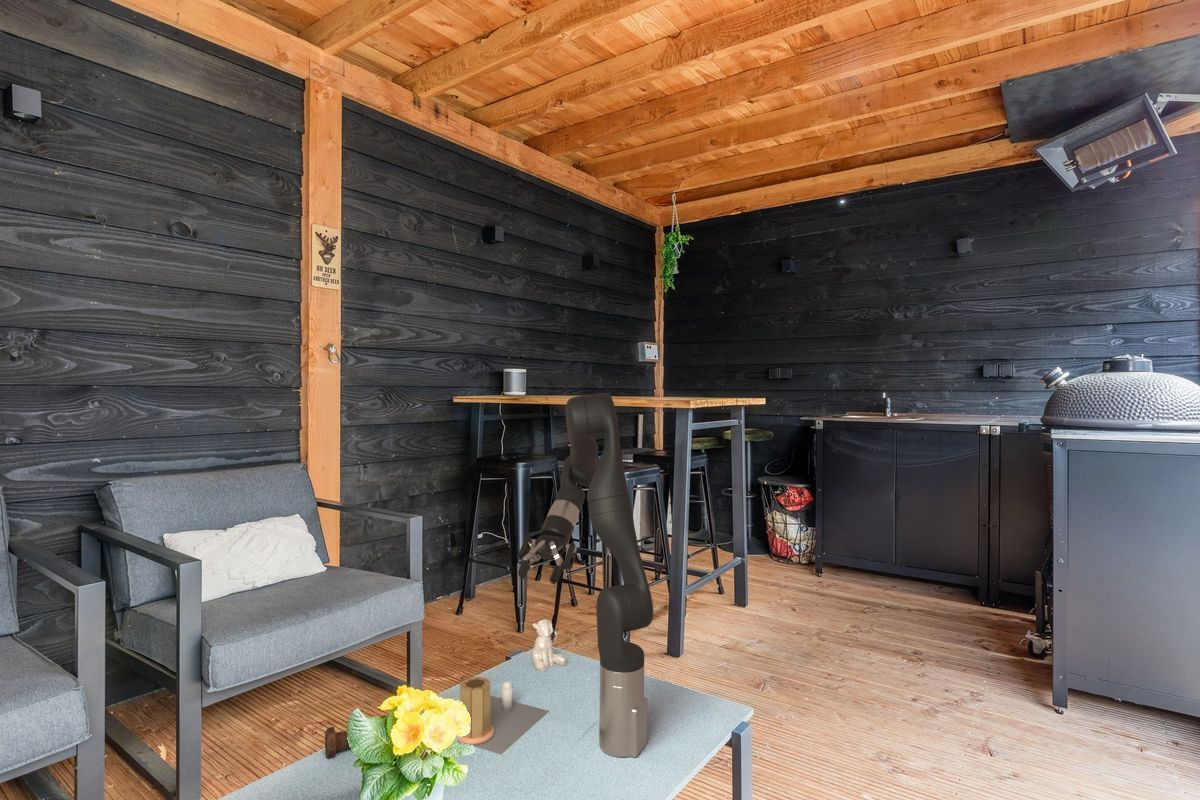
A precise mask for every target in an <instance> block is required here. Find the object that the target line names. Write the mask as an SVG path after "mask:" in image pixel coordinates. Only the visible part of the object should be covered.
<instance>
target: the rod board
mask: <svg viewBox="0 0 1200 800" xmlns="http://www.w3.org/2000/svg"><path fill="white" fill-rule="evenodd" d="M549 712H550V710H547V709H544V708H539V707H535V706H534V705H533V706H532V705H528V704H524V703H521V702H517V701H513V683H512V682H511V681H508V680H507V681H504V682H503V683H502V685H501V698H500V697H499V696H498V697H497V696H494V695H490V732H489V733H488V734H487V735H485V736H484V737H482V738H476V739H472V738H471V739H468V738H465V737H459V738H458V739H457V740H458V741H457V742H458V743H459V742H461V743H464V744H472V745H474V746H473V747H476V748H479V749H482V750H485V751H488V752H490V753H491V752H492V753H494V754H498V755H503V754H504V753H505V752H506V751H507V750H508V749H509V748H510V747H512V746H513V744H515V743H516V742H517V741H518V740H519V739H520V738H521V737H522V736H524V735H525V734H526V733H527V732H528V731H529V730H530V729H532V728H533V727H534V726H535V725H536V724H537V723H538V722H540V721H541V720H542V718H544V717H545V716H546V715H547V714H548V713H549ZM461 743H460V744H461ZM464 744H463V745H464Z"/></svg>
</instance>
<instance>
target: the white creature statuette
mask: <svg viewBox="0 0 1200 800" xmlns="http://www.w3.org/2000/svg"><path fill="white" fill-rule="evenodd" d="M532 627H533V628H534V629H536V634H537V637H536V639H535V642H534V646H533V648H532V651H531V653H530V654H531V656H530V657H531V661H532V664H533V666H534V669H535V671H539V672H543V673H544V672H545V671H546V670H548V669H549V668H553V667H554V668H555V667H556V666H561V667H565V666H567V661H568V660H567V658H566V657H564V656H563V655H562V654H560V653H554V651H553V649H554V648H553V646H554V645H553V641H552V637H551V636H552V634H553V632H554V629H553V623H552V620H550V619H546V618H544V619H541V620H538V622H537V623H532Z"/></svg>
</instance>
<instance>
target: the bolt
mask: <svg viewBox="0 0 1200 800" xmlns="http://www.w3.org/2000/svg"><path fill="white" fill-rule="evenodd" d="M347 731H348V730H345V731H337V732H336V729H335V726H330V727H327V728H326V730H325V734H324V748H325V749H326V750H325V749H324V750H325V753H324V754H325V758H326V759H327V760H328V759H329V760H330V759H331V760H332V759H334V758H335V757H336V752H339V751H344V750H345V749H349V748H350V747H349V743H348V740H347V735H348V734H347Z"/></svg>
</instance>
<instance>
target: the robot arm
mask: <svg viewBox="0 0 1200 800" xmlns="http://www.w3.org/2000/svg"><path fill="white" fill-rule="evenodd" d="M565 421H566V427H567V435H568V441H569V445H570V446H569V447H570V450H569V451H570V452H569V453H570V454H569V456H567V457H566V458H565V460H564V462H563V464H562V471H561V472H562V473H561V481H560V487H559V490H558V492H557V494H556V497H555V499H554V502H553V503H552V505H551V507H550V509H549V511H548V513H547V515H546V517H545V520H544V522H543V525H542V527H541V529H540V533H539V536H538V537H537V539H532V538H531V537H530V536H527V537H526V538H524V539H525V540H524V542H523V543H522V545H521V547H520V548H519V551H518V553H517V559H519V561H520V562H521V564H520V566H519V568H518V571H517V574H518V576H519V578H520V579H521V580H525V579H526V577H527V575H528V574H527V573H528V572H529V570H530V567H531V565H532V564H534V563H535V562H538V561H540V560H541V559H542V560H550V561H555V563H556V565H555V566H554V567H553V569H552V572H551V574H550V576H549V583H551V584H552V585H555V584H556V583H558V582H559V580H560V577H561V575H562V572H564V571H565V570H568V571H569V570H572V568H573V567H574V566H573V565H574V562H575V560H576V556H577V554H578V548H577V545H576V543H575V542H573V541H572V542H570V540H571V537H572V535H573V533H574V530H575V527H576V525H577V522H578V519H579V515H580V512H581V510H582V507H583V505H584V503H585V500H587V507H588V512H589V518H590V523H591V524H590V525H591V527H592V529H593V530H594V532H595V535H596V536H597V537H598V538H599V539H600V541H602V543H603V544H604V545H605V546H606V547H607V549H608V550H609V552H610V553H611V554H612V555H613V557H614V559H615V561H616V562H617V564H618V567H619V569H620V573H621V578H622V582H623V584H620V585H614V586H609V587H606V588H603V589H601V590H600V591H599V593H598V595H597V599H596V609H595V610H596V626H597V627H596V628H597V629H596V630H597V635H596V636H597V649H598V652H599V715H598V716H599V718H598V719H599V725H598V727H599V732H598V740H599V741H598V743H599V745H598V746H599V748H600V750H601V751H602V752H604V753H605V754H607V755H609V756H612V757H616V758H627V757H628V758H630V757H632V758H637V757H638V756H639V754H640V753H641V752H642V750H643V749H644V748H645V746H646V745H647V744H648V698H647V697H645V651H644V649H643V648H642V647H641V646H640V645H638V644H636V643H633V642H631V641H626V640H625V639H624V633H627V632H632V631H637V630H641V629H644V628H647V627H649V626H650V625H651V624H652V622H653V619H654V605H653V604H654V602H653V598H652V593H651V589H650V584H649V581H648V578H647V575H646V571H645V567H644V563H643V559H642V555H641V552H640V551H641V550H640V548H639V542H638V537H637V533H636V532H637V531H636V528H635V521H634V514H633V508H632V502H631V497H630V492H629V488H628V482H627V479H626V473H625V469H624V463H623V457H622V452H621V451H622V450H621V443H620V434H619V426H618V420H617V412H616V405H615V402H614V399H613V397H612V395H610V393H608V392H601V393H599V392H598V393H592V394H584V395H577V396H573V397H570V398H569V399H568V400H567V402H566V405H565ZM599 435H603V437H604V438H603V439H604V442H603V443H604V445H603V450H602V452H601V453H602V454H601V457H600V459H599V457H598V455H599V445H598V443H597V441H596V439H595V438H594V437H593V436H599ZM577 484H578V485H577ZM579 485H581V486H584V487H587V488H588V490H587V494H586V492H585V491H584V489H583V488H582V487H580V486H579ZM585 498H586V499H585ZM565 552H567V553H566V555H565V558H564V560H563V557H562V554H563V553H565ZM536 553H537V554H536Z"/></svg>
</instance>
